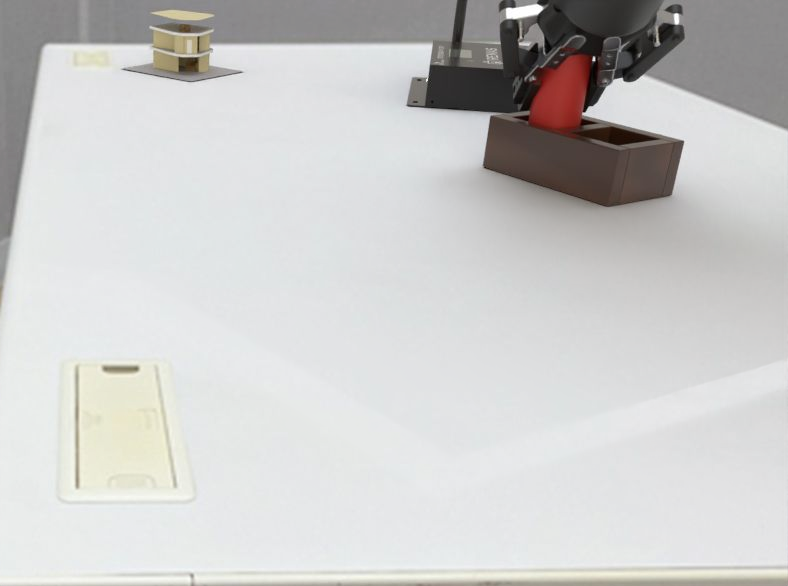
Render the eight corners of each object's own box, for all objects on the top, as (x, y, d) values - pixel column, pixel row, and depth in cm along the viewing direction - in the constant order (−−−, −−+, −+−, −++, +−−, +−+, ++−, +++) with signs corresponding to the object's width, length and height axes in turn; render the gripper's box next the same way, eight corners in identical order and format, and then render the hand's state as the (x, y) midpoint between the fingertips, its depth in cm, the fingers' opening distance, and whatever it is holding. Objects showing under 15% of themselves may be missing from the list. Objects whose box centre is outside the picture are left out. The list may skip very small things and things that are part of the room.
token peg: (544, 164, 99) (568, 32, 94) (581, 175, 97) (607, 39, 91) (509, 169, 98) (531, 35, 92) (545, 180, 95) (570, 42, 89)
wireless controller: (551, 115, 116) (587, -88, 107) (406, 105, 118) (429, -94, 109) (540, 79, 133) (570, -99, 124) (413, 71, 135) (433, -105, 126)
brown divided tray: (545, 157, 101) (553, 107, 99) (672, 195, 92) (685, 140, 90) (482, 167, 98) (489, 115, 96) (607, 206, 89) (619, 150, 86)
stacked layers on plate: (120, 68, 131) (120, 13, 128) (174, 59, 137) (175, 6, 134) (190, 81, 126) (192, 24, 123) (243, 71, 132) (246, 16, 129)
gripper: (733, -101, 80) (635, 63, 97) (521, -109, 80) (460, 57, 97) (742, -3, 79) (641, 146, 95) (526, -10, 78) (463, 141, 95)
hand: (550, 101), depth 96 cm, fingers closed on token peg, 4 cm apart
